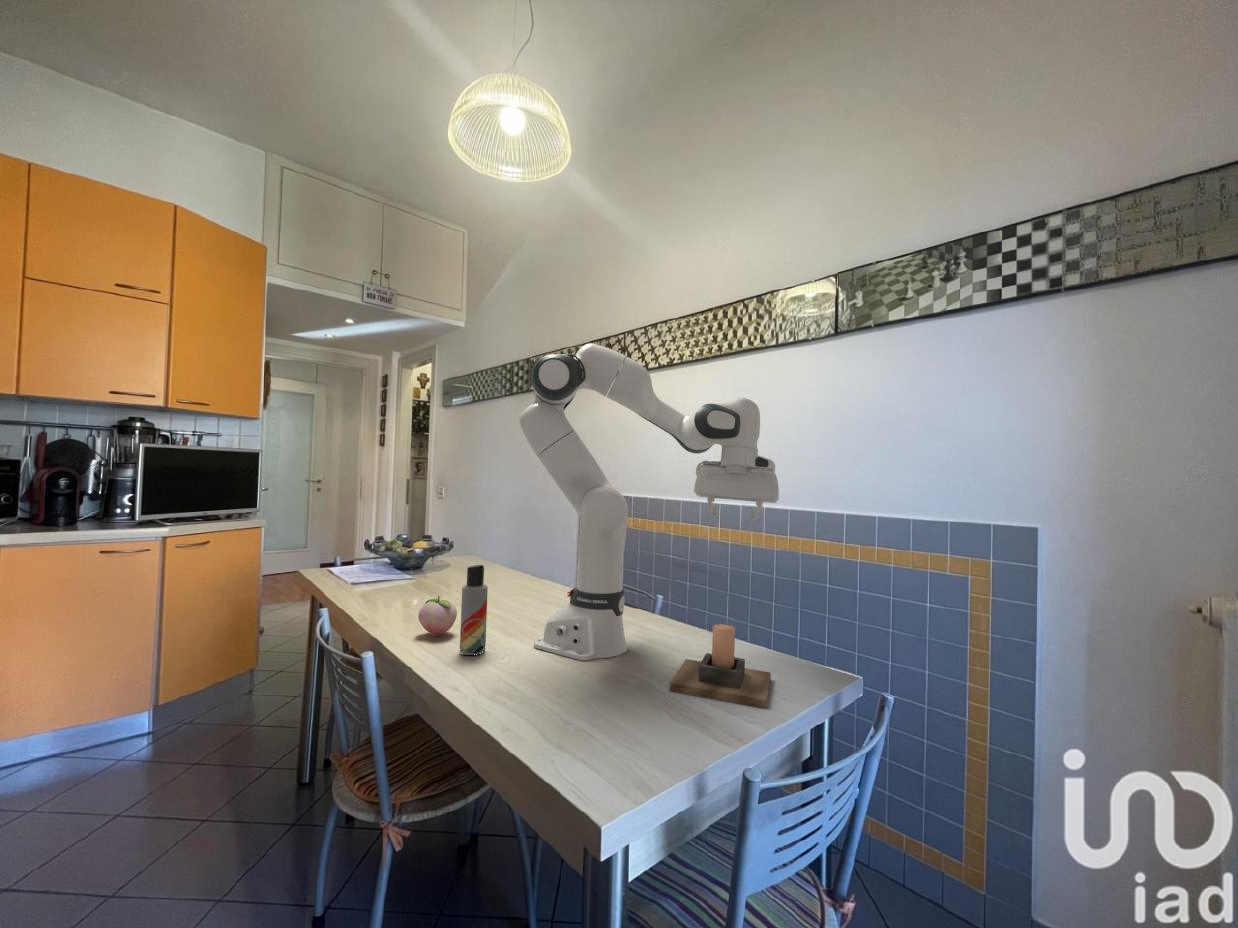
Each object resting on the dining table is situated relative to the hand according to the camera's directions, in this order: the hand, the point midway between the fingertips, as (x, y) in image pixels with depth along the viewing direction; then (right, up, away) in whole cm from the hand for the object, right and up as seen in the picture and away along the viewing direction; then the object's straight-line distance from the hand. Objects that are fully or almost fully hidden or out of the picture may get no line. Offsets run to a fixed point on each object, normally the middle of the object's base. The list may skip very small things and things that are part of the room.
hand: (733, 517), depth 118 cm
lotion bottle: (-62, -31, -6) cm, 69 cm away
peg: (-7, -30, -20) cm, 37 cm away
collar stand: (-7, -32, -20) cm, 38 cm away
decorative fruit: (-73, -31, +5) cm, 80 cm away
